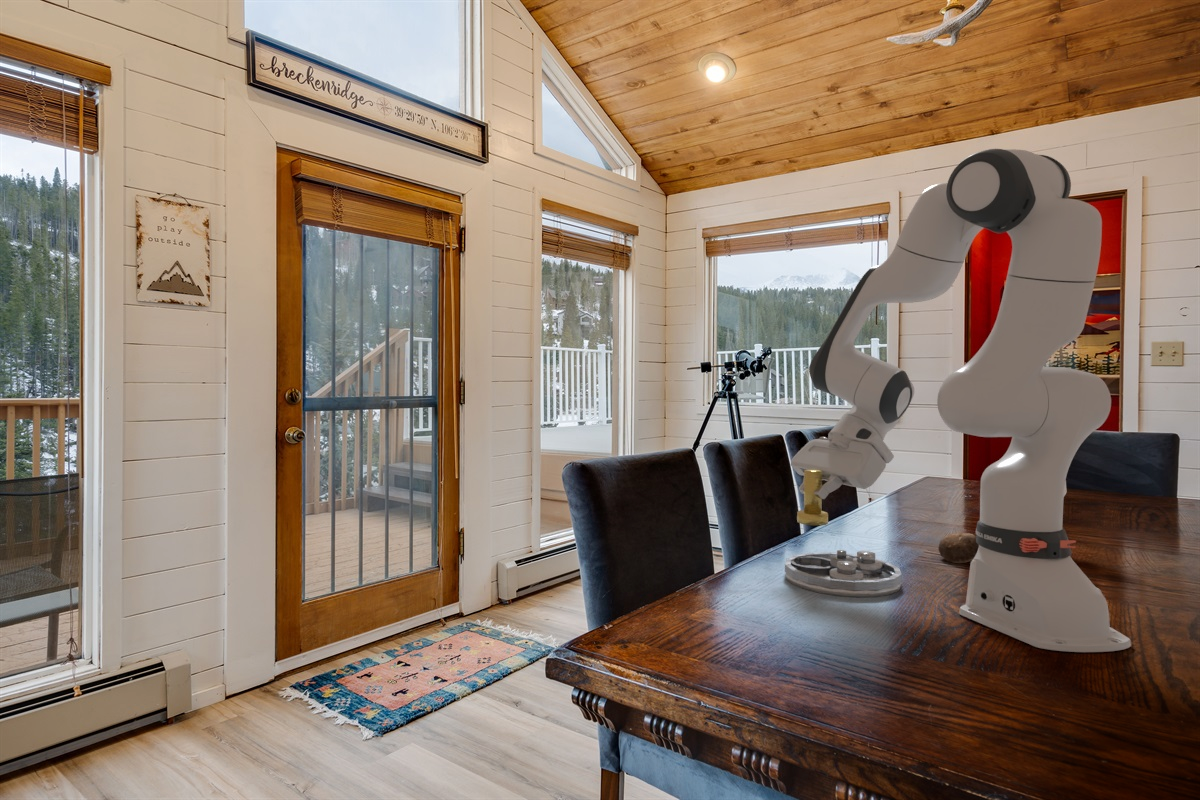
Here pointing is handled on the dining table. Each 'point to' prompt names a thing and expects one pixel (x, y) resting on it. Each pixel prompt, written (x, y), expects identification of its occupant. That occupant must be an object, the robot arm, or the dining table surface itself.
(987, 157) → the robot arm
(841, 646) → the dining table surface
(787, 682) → the dining table surface
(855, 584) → the carrier
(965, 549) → the brown rounded lump
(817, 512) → the yellow peg
